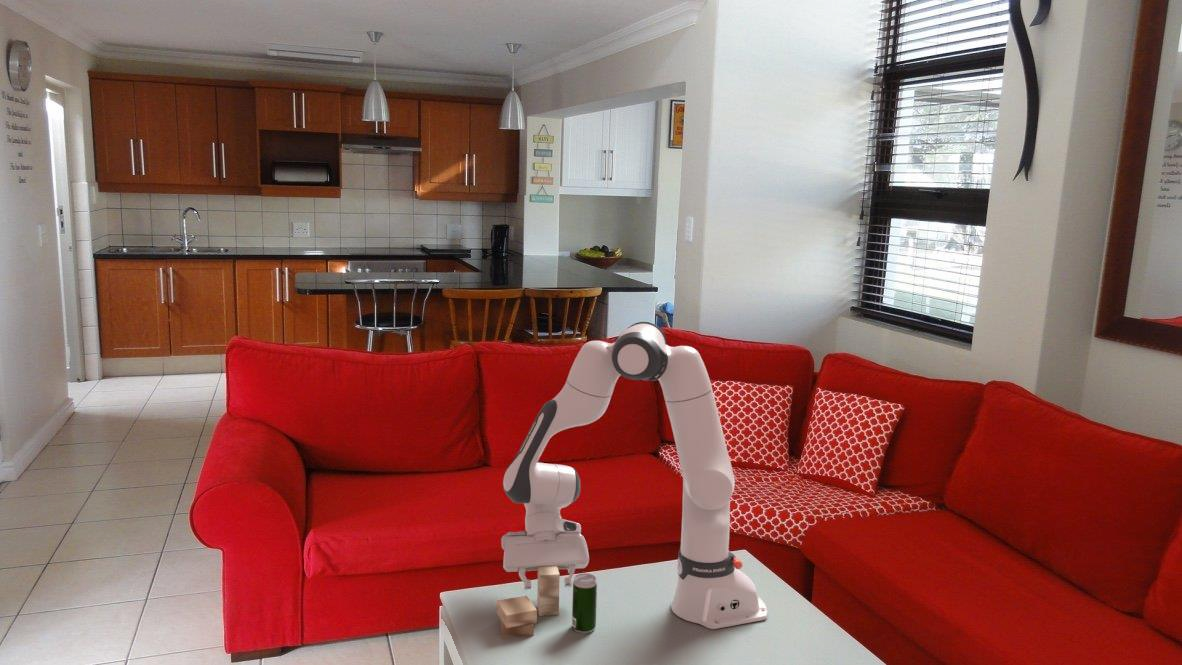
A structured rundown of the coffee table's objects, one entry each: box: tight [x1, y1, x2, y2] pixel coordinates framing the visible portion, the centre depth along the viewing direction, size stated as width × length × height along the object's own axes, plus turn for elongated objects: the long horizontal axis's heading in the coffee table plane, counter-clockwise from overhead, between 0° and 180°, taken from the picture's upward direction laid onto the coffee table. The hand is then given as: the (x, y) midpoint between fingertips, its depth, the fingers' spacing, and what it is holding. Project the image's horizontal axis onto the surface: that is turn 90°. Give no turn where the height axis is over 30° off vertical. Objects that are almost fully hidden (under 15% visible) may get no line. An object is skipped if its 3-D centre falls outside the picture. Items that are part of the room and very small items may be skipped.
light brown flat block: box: [498, 617, 535, 639], centre depth 187 cm, size 7×7×3 cm
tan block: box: [536, 566, 560, 617], centre depth 195 cm, size 4×4×10 cm
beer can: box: [571, 572, 598, 635], centre depth 187 cm, size 5×5×12 cm
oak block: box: [496, 595, 538, 628], centre depth 187 cm, size 7×7×3 cm
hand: (548, 587), depth 195 cm, fingers open, 8 cm apart
